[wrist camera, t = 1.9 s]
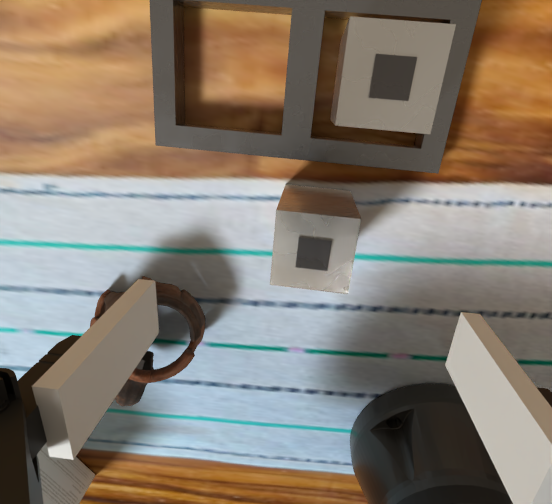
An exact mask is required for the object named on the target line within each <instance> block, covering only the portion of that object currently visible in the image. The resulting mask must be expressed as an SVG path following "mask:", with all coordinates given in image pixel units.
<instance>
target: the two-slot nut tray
mask: <svg viewBox="0 0 552 504" xmlns="http://www.w3.org/2000/svg"><path fill="white" fill-rule="evenodd" d="M481 1H482V0H150V20H151V44H152V67H153V91H154V115H155V139H156V145H157V146H168V147H178V148H188V149H198V150H208V151H218V152H228V153H238V154H248V155H258V156H268V157H278V158H288V159H298V160H309V161H319V162H329V163H339V164H349V165H359V166H369V167H379V168H389V169H399V170H409V171H419V172H429V173H438V172H439V168H440V165H441V161H442V157H443V153H444V149H445V145H446V141H447V137H448V133H449V129H450V125H451V121H452V117H453V113H454V109H455V105H456V101H457V97H458V93H459V89H460V85H461V81H462V77H463V73H464V69H465V65H466V61H467V57H468V53H469V49H470V45H471V41H472V37H473V33H474V29H475V25H476V21H477V17H478V13H479V9H480V5H481ZM183 7H194V8H207V9H221V10H234V11H247V12H260V13H274V14H287V15H292V17H291V29H290V41H289V53H288V65H287V77H286V88H285V100H284V112H283V124H282V133H276V132H265V131H255V130H244V129H234V128H223V127H213V126H202V125H192V124H185V90H184V8H183ZM350 16H351V17H365V18H378V19H391V20H405V21H418V22H431V23H445V24H456V27H455V31H454V35H453V40H452V44H451V48H450V52H449V57H448V61H447V65H446V70H445V74H444V78H443V82H442V87H441V91H440V95H439V100H438V104H437V108H436V112H435V117H434V121H433V125H432V129H431V134H421V133H417V134H416V138H415V143H414V146H413V145H402V144H392V143H381V142H371V141H360V140H350V139H339V138H329V137H318V136H311V129H312V120H313V112H314V103H315V94H316V85H317V77H318V68H319V59H320V50H321V42H322V33H323V24H324V17H327V18H340V19H349V18H350Z"/></svg>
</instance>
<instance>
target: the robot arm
mask: <svg viewBox="0 0 552 504" xmlns="http://www.w3.org/2000/svg"><path fill="white" fill-rule="evenodd" d="M158 334H159V325H158V311H157V298H156V284H155V281H154V280H144V279H138V280H137V281H136V282H135V283H134V284H133V285H132V286H131V287H130V288H129V289H128V290H127V291H126V292H125V293H124V294H123V295H122V296H121V297H120V298H119V299H118V300H117V301H116V302H115V303H114V304H113V305H112V306H111V307H110V308H109V309H108V310H107V311H106V312H105V313H104V314H103V315H102V316H101V317H100V318H99V319H98V320H97V321H96V322H95V323H94V324H93V325H92V326H91V327H90V328H89V329H88V330H87V331H86V332H85V333H84V334H83V335H82V336H75V335H72V336H70V337H68V338H66V339H64V340H62V341H61V342H59V343H57V344H56V345H55V346H54V347H53V348H52V349H51V350H50V351H49V352H48V354H47V355H45V356H44V357H43V358H41V359H40V360H39V363H36V364H35V365H34V366H33V367H32V368H31V369H30V370H29V371H28V372H27V373H25V374H24V375H23V376H22V377H21V378H20V379H19V380H18V381H17V378H16V375H15V373H14V371H12V370H10V369H7V368H0V504H43V495H42V486H41V477H40V467H39V460H38V456H37V454H38V453H39V451H40V450H41V449H42V447H43V446H44V445H45V444H47V448H48V452H49V456H50V457H56V458H63V459H71V460H74V458H75V457H76V455H77V454H78V452H79V451H80V450H81V448H82V447H83V445H84V444H85V442H86V441H87V439H88V438H89V436H90V435H91V433H92V432H93V430H94V429H95V427H96V426H97V424H98V423H99V421H100V420H101V418H102V417H103V415H104V414H105V412H106V411H107V409H108V408H109V406H110V405H111V404H112V402H113V401H114V399H115V398H116V396H117V395H118V393H119V392H120V390H121V389H122V387H123V386H124V384H125V383H126V381H127V380H128V378H129V377H130V375H131V374H132V372H133V371H134V369H135V368H136V366H137V365H138V363H139V362H140V360H141V359H142V358H143V356H144V355H145V353H146V352H147V350H148V349H149V347H150V346H151V344H152V343H153V341H154V340H155V338H156V337H157V335H158ZM445 366H446V368H447V370H448V372H449V374H450V376H451V378H452V380H453V382H454V384H455V386H451V385H445V384H419V385H412V386H407V387H403V388H399V389H396V390H394V391H391V392H389V393H386V394H384V395H383V396H381V397H379V398H377V399H376V400H374V401H373V402H372V403H370V404H369V405H368V406H367V407H366V408H365V409H364V410H363V411H362V412H361V413H360V415H359V416H358V417H357V419H356V421H355V423H354V425H353V427H352V431H351V435H350V448H351V458H352V465H353V469H354V472H355V475H356V478H357V480H358V482H359V484H360V486H361V489H362V491H363V493H364V495H365V497H366V499H367V501H368V504H552V392H551V391H549V390H548V389H545V388H536V386H535V385H534V384H533V382H532V381H531V380H530V379H529V377H528V376H527V375H526V373H525V372H524V371H523V369H522V368H521V367H520V366H519V364H518V363H517V362H516V360H515V359H514V358H513V356H512V355H511V354H510V352H509V351H508V350H507V349H506V347H505V346H504V345H503V343H502V342H501V341H500V339H499V338H498V337H497V336H496V334H495V333H494V332H493V330H492V329H491V328H490V326H489V325H488V324H487V323H486V321H485V320H484V319H483V317H482V316H481V315H480V314H475V313H465V312H461V314H460V317H459V320H458V324H457V327H456V330H455V334H454V337H453V341H452V344H451V347H450V351H449V354H448V357H447V361H446V364H445Z"/></svg>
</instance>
